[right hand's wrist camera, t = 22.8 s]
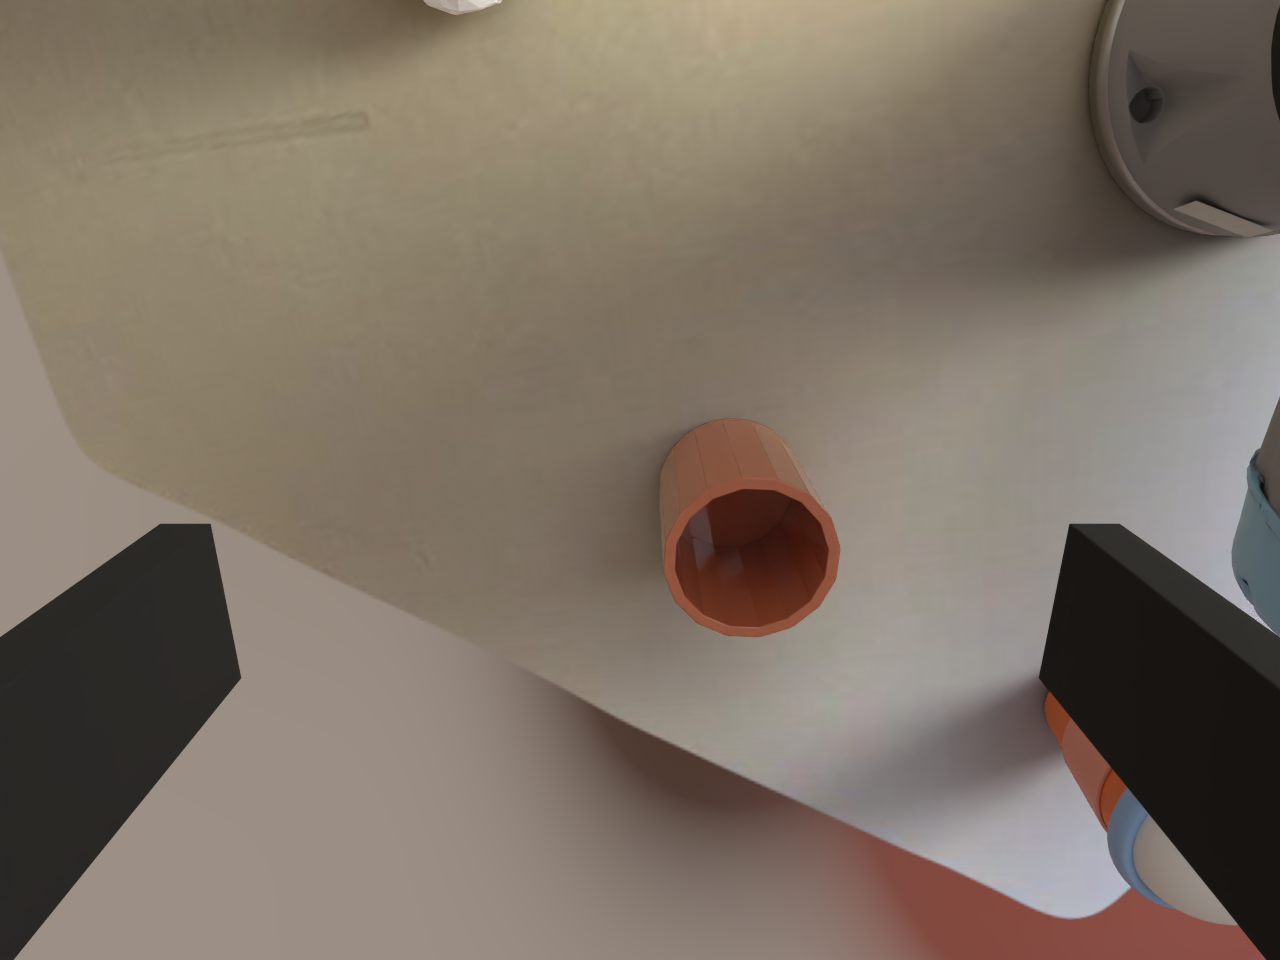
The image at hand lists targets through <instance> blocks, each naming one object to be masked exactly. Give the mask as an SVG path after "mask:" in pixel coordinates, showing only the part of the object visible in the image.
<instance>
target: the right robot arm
mask: <svg viewBox="0 0 1280 960" xmlns="http://www.w3.org/2000/svg"><path fill="white" fill-rule="evenodd" d="M1089 104H1090V113H1091V121H1092V126H1093V130H1094V135H1095V138H1096V142H1097V145H1098V148H1099V151H1100V153H1101V155H1102V158H1103V160H1104V162H1105V164H1106V167H1107V168H1108V170H1109V172H1110V173H1111V175H1112V177H1113V178H1114V180H1115V181H1116V183H1117V184H1118V185H1119V187H1120V188H1121V189H1122V190H1123V192H1124V193H1125V194H1126V195H1127V196H1128V197H1129V198H1130V199H1131V200H1132V201H1133V202H1134V203H1135V204H1136V205H1138V206H1139V207H1140V208H1141V209H1143V210H1144V211H1145V212H1147V213H1148V214H1150V215H1151V216H1153V217H1155V218H1156V219H1158V220H1160V221H1162V222H1164V223H1166V224H1168V225H1171V226H1173V227H1176V228H1179V229H1182V230H1185V231H1190V232H1195V233H1199V234H1208V235H1219V236H1230V237H1247V238H1249V237H1258V236H1267V235H1273V234H1278V233H1280V0H1108V2H1107V4H1106V6H1105V9H1104V12H1103V15H1102V18H1101V21H1100V24H1099V27H1098V30H1097V34H1096V38H1095V42H1094V47H1093V53H1092V59H1091V65H1090V77H1089ZM1247 482H1248V490H1247V494H1246V498H1245V502H1244V506H1243V510H1242V513H1241V517H1240V521H1239V524H1238V527H1237V531H1236V534H1235V537H1234V541H1233V546H1232V567H1233V571H1234V576H1235V578H1236V581H1237V583H1238V584H1239V586H1240V588H1241V590H1242V592H1243V594H1244V595H1245V597H1246V598H1247V600H1248V601H1249V602H1250V603H1251V604H1252V605H1253V606H1254V609H1255V611H1256V612H1257V614H1258V616H1259V617H1260V618H1261V619H1262V620H1263V621H1264V622H1265V623H1266V624H1267V626H1268V627H1269V628H1270V629H1271V630H1272V631H1273V632H1274V633H1273V632H1272V631H1270V630H1269V629H1267V628H1266V627H1265V626H1263V625H1262V624H1260V623H1259V622H1258V621H1256V620H1255V619H1253V618H1252V617H1251V616H1249V615H1248V614H1246V613H1245V612H1243V611H1242V610H1241V609H1239V608H1238V607H1236V606H1235V605H1234V604H1232V603H1231V602H1229V601H1228V600H1226V599H1225V598H1224V597H1222V596H1221V595H1219V594H1218V593H1217V592H1215V591H1214V590H1212V589H1211V588H1210V587H1208V586H1207V585H1205V584H1204V583H1202V582H1201V581H1200V580H1198V579H1197V578H1195V577H1194V576H1193V575H1191V574H1190V573H1188V572H1187V571H1186V570H1184V569H1183V568H1181V567H1180V566H1178V565H1177V564H1176V563H1174V562H1173V561H1171V560H1170V559H1169V558H1167V557H1166V556H1164V555H1163V554H1162V553H1160V552H1159V551H1157V550H1156V549H1154V548H1153V547H1152V546H1150V545H1149V544H1147V543H1146V542H1145V541H1143V540H1142V539H1140V538H1139V537H1137V536H1136V535H1135V534H1133V533H1132V532H1130V531H1129V530H1128V529H1126V528H1125V527H1123V526H1122V525H1121V524H1069V529H1068V534H1067V539H1066V544H1065V549H1064V554H1063V559H1062V564H1061V569H1060V574H1059V579H1058V584H1057V589H1056V594H1055V599H1054V604H1053V609H1052V614H1051V619H1050V624H1049V629H1048V634H1047V639H1046V644H1045V649H1044V655H1043V660H1042V665H1041V670H1040V675H1039V679H1040V680H1041V681H1042V683H1043V684H1044V685H1045V686H1046V688H1047V689H1048V690H1049V691H1050V693H1051V694H1052V695H1053V696H1054V697H1055V699H1056V700H1057V701H1058V702H1059V704H1060V705H1061V706H1062V707H1063V709H1064V710H1065V711H1066V712H1067V714H1068V715H1069V716H1070V717H1071V718H1072V720H1073V721H1074V722H1075V723H1076V725H1077V726H1078V727H1079V728H1080V730H1081V731H1082V732H1083V733H1084V735H1085V736H1086V737H1087V738H1088V740H1089V741H1090V742H1091V743H1092V744H1093V746H1094V747H1095V748H1096V749H1097V751H1098V752H1099V753H1100V754H1101V756H1102V757H1103V758H1104V759H1105V761H1106V762H1107V763H1108V764H1109V766H1110V767H1111V768H1112V769H1113V770H1114V772H1115V773H1116V774H1117V775H1118V777H1119V778H1120V779H1121V780H1122V782H1123V783H1124V784H1125V785H1126V787H1127V788H1128V789H1129V790H1130V792H1131V793H1132V794H1133V795H1134V796H1135V798H1136V799H1137V800H1138V801H1139V803H1140V804H1141V805H1142V806H1143V808H1144V809H1145V810H1146V811H1147V813H1148V814H1149V815H1150V816H1151V818H1152V819H1153V820H1154V821H1155V822H1156V824H1157V825H1158V826H1159V827H1160V829H1161V830H1162V831H1163V832H1164V834H1165V835H1166V836H1167V837H1168V839H1169V840H1170V841H1171V842H1172V844H1173V845H1174V846H1175V847H1176V848H1177V850H1178V851H1179V852H1180V853H1181V855H1182V856H1183V857H1184V858H1185V860H1186V861H1187V862H1188V863H1189V865H1190V866H1191V867H1192V868H1193V870H1194V871H1195V872H1196V873H1197V874H1198V876H1199V877H1200V878H1201V879H1202V881H1203V882H1204V883H1205V884H1206V886H1207V887H1208V888H1209V889H1210V891H1211V892H1212V893H1213V894H1214V896H1215V897H1216V898H1217V899H1218V900H1219V902H1220V903H1221V904H1222V905H1223V907H1224V908H1225V909H1226V910H1227V912H1228V913H1229V914H1230V915H1231V917H1232V918H1233V919H1234V920H1235V922H1236V923H1237V924H1238V925H1239V926H1240V928H1241V929H1242V930H1243V931H1244V933H1245V934H1246V935H1247V936H1248V938H1249V939H1250V940H1251V941H1252V943H1253V944H1254V945H1255V946H1256V947H1257V949H1258V950H1259V951H1260V952H1261V954H1262V955H1263V956H1264V957H1265V959H1266V960H1280V398H1279V400H1278V403H1277V406H1276V408H1275V411H1274V414H1273V417H1272V419H1271V422H1270V425H1269V427H1268V430H1267V433H1266V435H1265V438H1264V441H1263V443H1262V446H1261V448H1260V449H1257V450H1256V452H1255V453H1254V455H1253V457H1252V458H1251V461H1250V465H1249V467H1248V468H1247ZM1275 633H1276V634H1277V635H1278V636H1277V635H1276V634H1275ZM240 679H241V675H240V670H239V665H238V660H237V655H236V649H235V645H234V640H233V634H232V630H231V624H230V619H229V614H228V609H227V604H226V599H225V595H224V589H223V584H222V579H221V574H220V569H219V564H218V559H217V554H216V549H215V544H214V539H213V534H212V529H211V524H159V525H158V526H157V527H155V528H154V529H152V530H151V531H150V532H148V533H147V534H145V535H144V536H143V537H141V538H140V539H138V540H137V541H135V542H134V543H133V544H131V545H130V546H128V547H127V548H126V549H124V550H123V551H121V552H120V553H119V554H117V555H116V556H114V557H113V558H111V559H110V560H109V561H107V562H106V563H104V564H103V565H102V566H100V567H99V568H97V569H96V570H95V571H93V572H92V573H90V574H89V575H87V576H86V577H85V578H83V579H82V580H80V581H79V582H78V583H76V584H75V585H73V586H72V587H70V588H69V589H68V590H66V591H65V592H63V593H62V594H61V595H59V596H58V597H56V598H55V599H54V600H52V601H51V602H49V603H48V604H47V605H45V606H44V607H42V608H41V609H40V610H38V611H37V612H35V613H34V614H32V615H31V616H30V617H28V618H27V619H25V620H24V621H22V622H21V623H20V624H18V625H17V626H15V627H14V628H13V629H11V630H10V631H8V632H7V633H5V634H4V635H3V636H1V637H0V960H14V959H15V957H16V956H17V955H18V954H19V952H20V951H21V950H22V949H23V947H24V946H25V945H26V944H27V943H28V941H29V940H30V939H31V938H32V936H33V935H34V934H35V933H36V931H37V930H38V929H39V928H40V926H41V925H42V924H43V923H44V921H45V920H46V919H47V918H48V917H49V915H50V914H51V913H52V912H53V910H54V909H55V908H56V907H57V905H58V904H59V903H60V902H61V900H62V899H63V898H64V897H65V895H66V894H67V893H68V892H69V891H70V889H71V888H72V887H73V886H74V884H75V883H76V882H77V881H78V879H79V878H80V877H81V876H82V874H83V873H84V872H85V871H86V869H87V868H88V867H89V866H90V864H91V863H92V862H93V861H94V860H95V858H96V857H97V856H98V855H99V853H100V852H101V851H102V850H103V848H104V847H105V846H106V845H107V843H108V842H109V841H110V840H111V839H112V837H113V836H114V835H115V834H116V832H117V831H118V830H119V829H120V827H121V826H122V825H123V824H124V822H125V821H126V820H127V819H128V817H129V816H130V815H131V814H132V813H133V811H134V810H135V809H136V808H137V806H138V805H139V804H140V803H141V801H142V800H143V799H144V798H145V796H146V795H147V794H148V793H149V792H150V790H151V789H152V788H153V787H154V785H155V784H156V783H157V782H158V780H159V779H160V778H161V777H162V775H163V774H164V773H165V772H166V770H167V769H168V768H169V767H170V766H171V764H172V763H173V762H174V761H175V759H176V758H177V757H178V756H179V754H180V753H181V752H182V751H183V749H184V748H185V747H186V746H187V744H188V743H189V742H190V741H191V740H192V738H193V737H194V736H195V735H196V733H197V732H198V731H199V730H200V728H201V727H202V726H203V725H204V723H205V722H206V721H207V720H208V718H209V717H210V716H211V715H212V714H213V712H214V711H215V710H216V709H217V707H218V706H219V705H220V704H221V702H222V701H223V700H224V699H225V697H226V696H227V695H228V694H229V693H230V691H231V690H232V689H233V688H234V686H235V685H236V684H237V682H238V681H239V680H240Z"/></svg>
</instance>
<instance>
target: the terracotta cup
mask: <svg viewBox="0 0 1280 960" xmlns="http://www.w3.org/2000/svg"><path fill="white" fill-rule="evenodd" d="M659 509H660V525H661V542H662V559H663V572H664V576H665V578H666V581H667V583H668V586H669V588H670V591H671V593H672V596H673V599H674V600H675V602H676V603H677V604H678V605H679V606H680V607H681V608H682V609H683V610H684V611H685V612H686V613H687V614H688V615H689V616H690V617H691V618H692V619H693V620H694V621H695V622H696V623H698V624H700V625H702V626H705V627H707V628H710V629H712V630H715V631H717V632H719V633H722V634H724V635H728V636H747V637H760V636H761V637H762V636H765V635H769V634H772V633H775V632H778V631H781V630H785V629H788V628H791V627H792V626H795V625H796V624H797V623H798V622H800V621H801V620H802V619H804V618H805V617H806V616H808V615H809V614H810V613H812V612H813V611H814V610H816V609H817V608H818V607H819V606H820V605H821V603H822V601H823V600H824V598H825V596H826V595H827V593H828V592H829V590H830V588H831V587H832V585H833V583H834V582H835V580H836V576H837V569H838V562H839V555H840V544H839V541H838V538H837V534H836V531H835V528H834V525H833V521H832V518H831V517H830V515H829V513H828V511H827V510H826V508H825V506H824V504H823V503H822V501H821V499H820V497H819V496H818V494H817V492H816V490H815V489H814V487H813V485H812V484H811V482H810V480H809V478H808V477H807V475H806V473H805V471H804V470H803V468H802V466H801V464H800V463H799V461H798V459H797V457H796V456H795V454H794V453H793V452H792V451H791V449H790V448H789V447H788V445H787V444H786V443H785V441H784V440H783V439H782V438H781V437H779V436H778V435H777V434H776V433H775V432H773V431H772V430H770V429H769V428H767V427H765V426H763V425H761V424H758V423H755V422H752V421H748V420H743V419H722V420H716V421H712V422H709V423H706V424H704V425H701V426H699V427H697V428H695V429H694V430H692V431H690V432H689V433H687V434H686V435H685V436H684V437H682V438H681V439H680V440H679V441H678V442H677V443H676V445H675V446H674V447H673V448H672V450H671V451H670V453H669V454H668V456H667V458H666V460H665V462H664V465H663V467H662V471H661V475H660V483H659Z"/></svg>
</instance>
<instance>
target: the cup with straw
mask: <svg viewBox="0 0 1280 960" xmlns="http://www.w3.org/2000/svg"><path fill="white" fill-rule="evenodd" d="M1045 717H1046V721H1047V723H1048V726H1049V728H1050V730H1051V731H1052V733H1053V735H1054V737H1055V738H1056V740H1057V742H1058V744H1059V745H1060V747H1061V749H1062V750H1063V756H1064V759H1065V762H1066V764H1067V766H1068V768H1069V769H1070V771H1071V773H1072V775H1073V776H1074V778H1075V780H1076V782H1077V783H1078V785H1079V787H1080V789H1081V790H1082V792H1083V794H1084V796H1085V797H1086V799H1087V801H1088V803H1089V804H1090V806H1091V808H1092V810H1093V811H1094V813H1095V815H1096V816H1097V818H1098V820H1099V822H1100V823H1101V825H1102V827H1103V828H1104V829H1105V831H1106V832H1107V840H1108V848H1109V852H1110V855H1111V858H1112V860H1113V863H1114V865H1115V867H1116V868H1117V870H1118V872H1119V873H1120V874H1121V876H1122V877H1123V878H1124V880H1125V881H1126V882H1127V883H1128V884H1129V885H1130V886H1131V887H1132V888H1133V889H1134V890H1136V891H1137V892H1138V893H1139V894H1141V895H1142V896H1144V897H1145V898H1147V899H1148V900H1150V901H1152V902H1154V903H1156V904H1159V905H1162V906H1164V907H1167V908H1171V909H1176V910H1180V911H1181V912H1184V913H1186V914H1188V915H1190V916H1193V917H1195V918H1198V919H1201V920H1204V921H1208V922H1213V923H1218V924H1226V925H1238V924H1237V923H1236V922H1235V920H1234V919H1233V918H1232V917H1231V915H1230V914H1229V913H1228V912H1227V910H1226V909H1225V908H1224V907H1223V905H1222V904H1221V903H1220V902H1219V900H1218V899H1217V898H1216V897H1215V896H1214V894H1213V893H1212V892H1211V891H1210V889H1209V888H1208V887H1207V886H1206V884H1205V883H1204V882H1203V881H1202V879H1201V878H1200V877H1199V876H1198V874H1197V873H1196V872H1195V871H1194V870H1193V868H1192V867H1191V866H1190V865H1189V863H1188V862H1187V861H1186V860H1185V858H1184V857H1183V856H1182V855H1181V853H1180V852H1179V851H1178V850H1177V848H1176V847H1175V846H1174V845H1173V844H1172V842H1171V841H1170V840H1169V839H1168V837H1167V836H1166V835H1165V834H1164V832H1163V831H1162V830H1161V829H1160V827H1159V826H1158V825H1157V824H1156V822H1155V821H1154V820H1153V819H1152V818H1151V816H1150V815H1149V814H1148V813H1147V811H1146V810H1145V809H1144V808H1143V806H1142V805H1141V804H1140V803H1139V801H1138V800H1137V799H1136V798H1135V796H1134V795H1133V794H1132V793H1131V792H1130V790H1129V789H1128V788H1127V787H1126V785H1125V784H1124V783H1123V782H1122V780H1121V779H1120V778H1119V777H1118V775H1117V774H1116V773H1115V772H1114V770H1113V769H1112V768H1111V767H1110V766H1109V764H1108V763H1107V762H1106V761H1105V759H1104V758H1103V757H1102V756H1101V754H1100V753H1099V752H1098V751H1097V749H1096V748H1095V747H1094V746H1093V744H1092V743H1091V742H1090V741H1089V740H1088V738H1087V737H1086V736H1085V735H1084V733H1083V732H1082V731H1081V730H1080V728H1079V727H1078V726H1077V725H1076V723H1075V722H1074V721H1073V720H1072V718H1071V717H1070V716H1069V715H1068V714H1067V712H1066V711H1065V710H1064V709H1063V707H1062V706H1061V705H1060V704H1059V702H1058V701H1057V700H1056V699H1055V697H1054V696H1053V695H1052V694H1051V693H1050V691H1049V692H1048V695H1047V698H1046V701H1045Z"/></svg>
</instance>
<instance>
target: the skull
mask: <svg viewBox="0 0 1280 960" xmlns="http://www.w3.org/2000/svg"><path fill="white" fill-rule="evenodd" d="M423 1H424V2H425V3H426V4H427V5H428V6H431V7H434V8H436V9H439V10H442V11H445V12H447V13H450V14H453V15H459V14H464V13H470V12H475V11H480V10H482V9H485V8H488V7H491V6H494V5H496V4H499V3H501V1H502V0H423Z"/></svg>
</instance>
